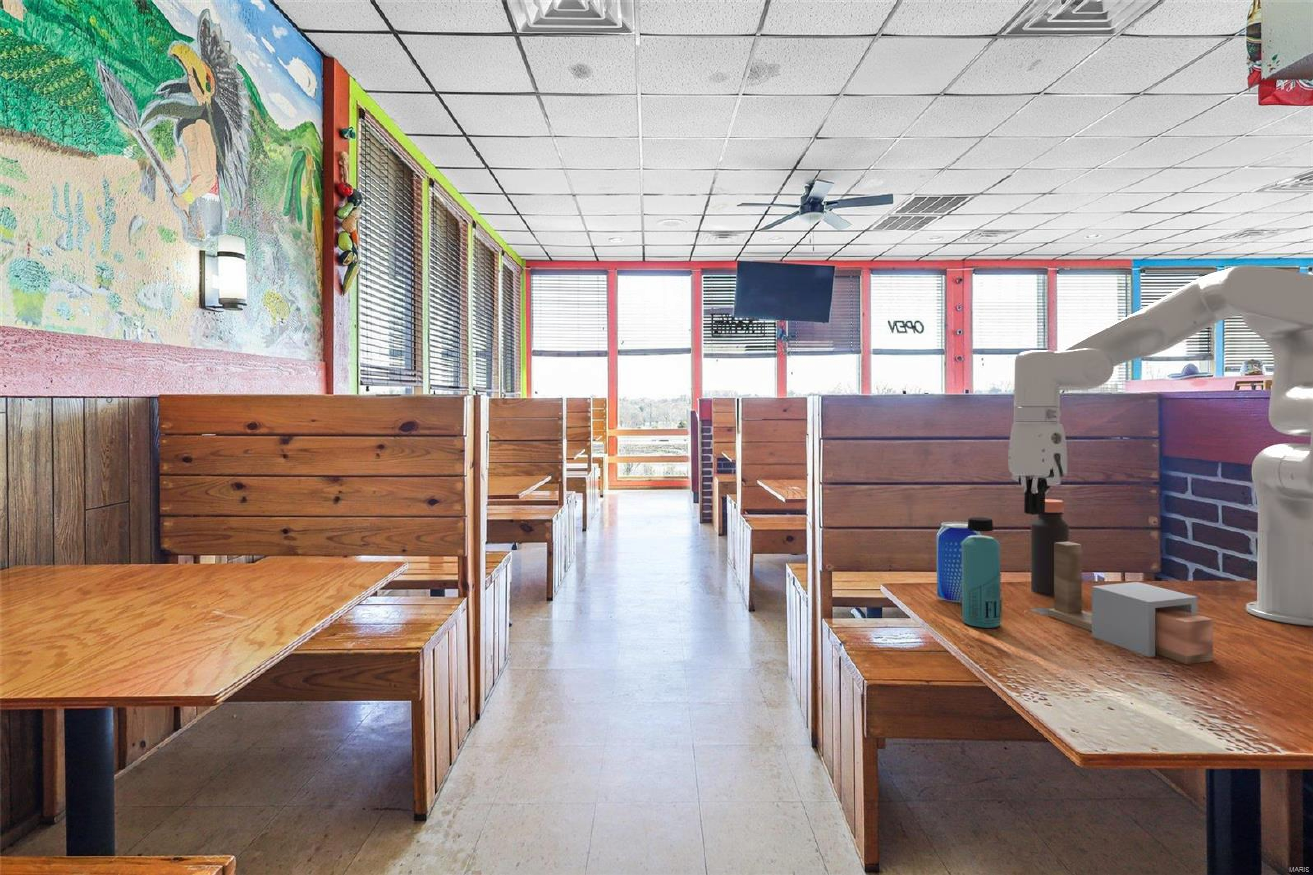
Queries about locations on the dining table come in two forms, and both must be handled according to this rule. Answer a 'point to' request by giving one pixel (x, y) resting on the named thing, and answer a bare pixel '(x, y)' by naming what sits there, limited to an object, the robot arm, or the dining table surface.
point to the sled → (1173, 628)
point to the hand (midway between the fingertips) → (1034, 513)
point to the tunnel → (1133, 613)
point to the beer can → (951, 559)
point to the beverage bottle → (981, 576)
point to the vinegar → (1046, 545)
